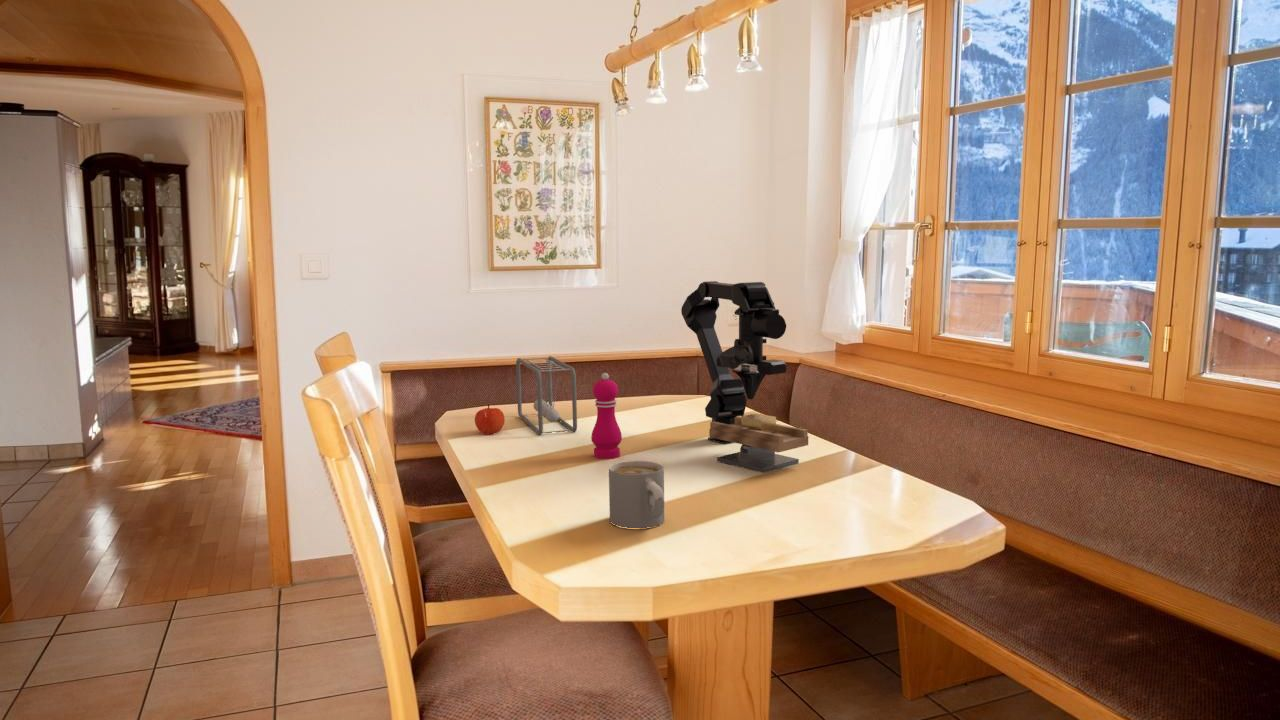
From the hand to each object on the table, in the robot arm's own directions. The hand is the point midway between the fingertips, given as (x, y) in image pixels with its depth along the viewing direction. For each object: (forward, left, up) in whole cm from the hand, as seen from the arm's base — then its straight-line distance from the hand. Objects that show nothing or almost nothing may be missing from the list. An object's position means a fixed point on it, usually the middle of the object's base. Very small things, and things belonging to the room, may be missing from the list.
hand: (750, 399), depth 209 cm
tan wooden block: (+10, -8, -5) cm, 14 cm away
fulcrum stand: (+10, -8, -12) cm, 18 cm away
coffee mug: (+25, -56, -13) cm, 63 cm away
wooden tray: (+10, -8, -7) cm, 15 cm away
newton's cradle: (-60, -19, -13) cm, 64 cm away
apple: (-61, -36, -13) cm, 72 cm away
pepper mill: (-19, -29, -13) cm, 37 cm away
